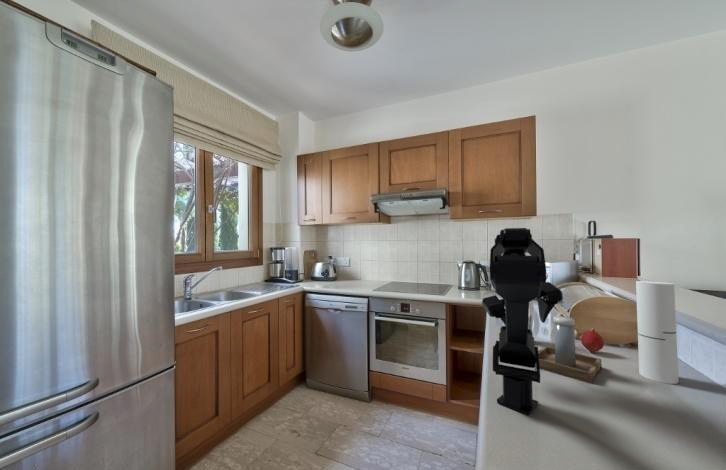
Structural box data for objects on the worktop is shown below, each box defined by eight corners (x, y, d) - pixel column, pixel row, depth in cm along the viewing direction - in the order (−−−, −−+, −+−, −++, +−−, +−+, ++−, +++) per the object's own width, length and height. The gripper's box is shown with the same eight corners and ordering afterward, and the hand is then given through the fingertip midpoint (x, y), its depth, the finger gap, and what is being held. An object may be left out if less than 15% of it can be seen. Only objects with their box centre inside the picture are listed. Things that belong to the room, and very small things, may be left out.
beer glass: (533, 346, 97) (532, 302, 98) (511, 341, 101) (510, 300, 102) (535, 340, 103) (534, 299, 103) (514, 337, 107) (513, 297, 108)
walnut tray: (591, 383, 70) (591, 373, 70) (530, 365, 81) (529, 357, 81) (601, 367, 80) (601, 359, 80) (545, 353, 90) (544, 345, 90)
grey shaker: (579, 368, 77) (577, 321, 78) (557, 366, 79) (556, 319, 79) (572, 361, 82) (571, 317, 82) (552, 359, 83) (551, 315, 84)
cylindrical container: (687, 385, 70) (682, 284, 71) (653, 382, 71) (649, 283, 72) (662, 372, 77) (659, 281, 78) (632, 370, 78) (629, 280, 79)
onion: (577, 351, 93) (576, 326, 93) (587, 348, 95) (586, 324, 95) (598, 357, 87) (597, 331, 88) (608, 354, 90) (607, 329, 90)
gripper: (535, 255, 80) (542, 302, 84) (470, 272, 82) (480, 318, 85) (560, 270, 69) (568, 323, 73) (485, 289, 71) (496, 340, 75)
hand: (525, 325), depth 77 cm, fingers open, 9 cm apart
